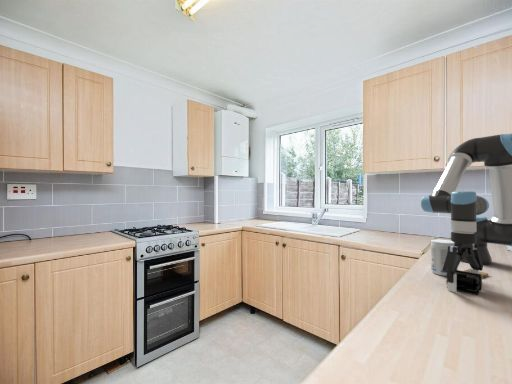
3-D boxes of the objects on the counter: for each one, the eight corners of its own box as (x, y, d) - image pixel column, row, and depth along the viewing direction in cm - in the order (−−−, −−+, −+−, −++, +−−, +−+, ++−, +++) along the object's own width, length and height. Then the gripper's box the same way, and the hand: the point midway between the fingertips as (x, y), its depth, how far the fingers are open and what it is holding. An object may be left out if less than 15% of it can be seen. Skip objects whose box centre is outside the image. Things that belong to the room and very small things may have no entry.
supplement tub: (461, 274, 113) (461, 241, 113) (452, 278, 108) (452, 244, 108) (436, 269, 122) (436, 238, 121) (427, 272, 116) (427, 240, 116)
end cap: (482, 290, 95) (482, 272, 95) (479, 296, 91) (479, 277, 91) (449, 283, 103) (449, 266, 103) (445, 288, 98) (445, 270, 98)
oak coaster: (468, 271, 118) (468, 269, 118) (488, 275, 112) (488, 273, 112) (461, 273, 114) (461, 271, 114) (481, 278, 108) (481, 276, 108)
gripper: (472, 228, 104) (472, 281, 104) (431, 232, 96) (431, 289, 96) (495, 231, 97) (495, 287, 97) (452, 235, 89) (452, 297, 89)
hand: (463, 288), depth 97 cm, fingers open, 12 cm apart
